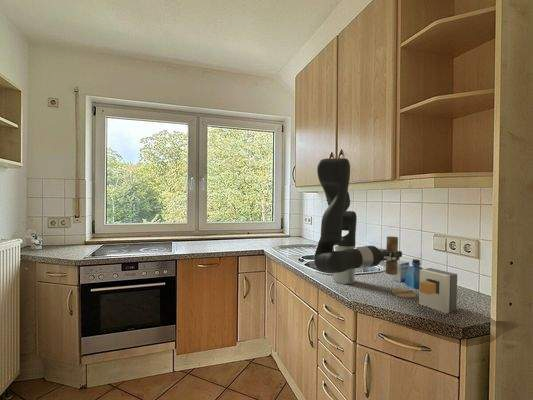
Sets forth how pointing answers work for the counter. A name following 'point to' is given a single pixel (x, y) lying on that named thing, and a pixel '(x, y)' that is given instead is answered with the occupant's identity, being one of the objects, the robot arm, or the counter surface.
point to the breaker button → (427, 287)
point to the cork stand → (404, 293)
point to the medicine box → (400, 271)
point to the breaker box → (439, 290)
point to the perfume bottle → (413, 274)
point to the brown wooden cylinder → (393, 247)
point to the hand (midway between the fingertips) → (395, 252)
